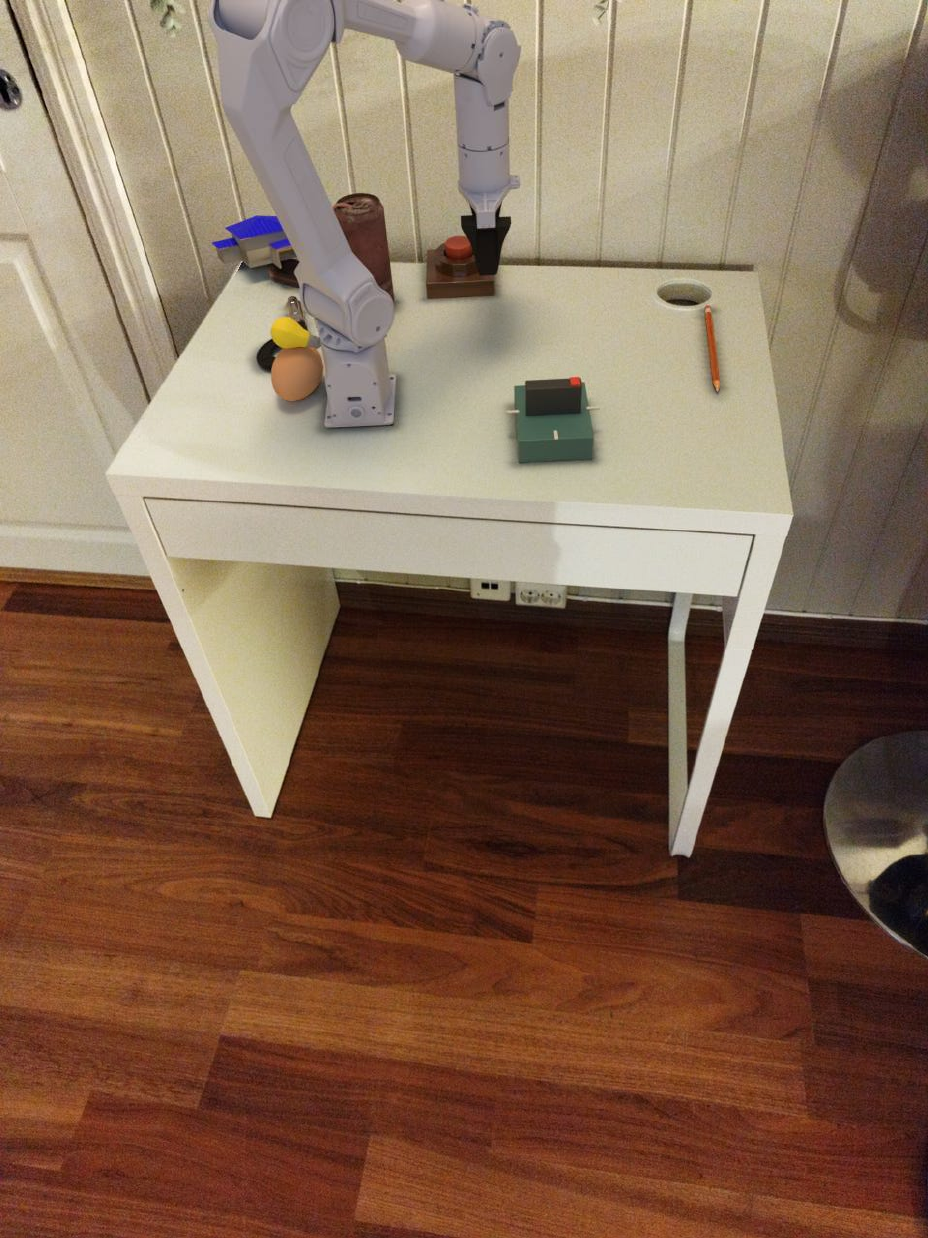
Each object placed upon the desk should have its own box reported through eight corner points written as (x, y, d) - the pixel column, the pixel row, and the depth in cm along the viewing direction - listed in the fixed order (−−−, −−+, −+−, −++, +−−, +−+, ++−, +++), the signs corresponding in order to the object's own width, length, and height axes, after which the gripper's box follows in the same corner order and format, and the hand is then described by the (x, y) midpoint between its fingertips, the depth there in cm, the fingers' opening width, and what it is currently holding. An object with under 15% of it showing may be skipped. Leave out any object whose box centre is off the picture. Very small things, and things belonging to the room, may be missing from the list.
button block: (494, 295, 125) (493, 267, 122) (427, 298, 126) (424, 270, 122) (492, 260, 131) (491, 233, 128) (428, 264, 131) (425, 236, 128)
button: (472, 260, 124) (472, 247, 123) (445, 261, 124) (444, 249, 123) (472, 246, 127) (471, 234, 125) (445, 248, 127) (444, 235, 125)
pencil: (710, 309, 120) (711, 305, 120) (720, 394, 109) (721, 389, 108) (704, 309, 120) (704, 304, 120) (713, 394, 109) (714, 389, 108)
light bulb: (271, 341, 110) (277, 310, 109) (320, 356, 111) (327, 326, 109) (264, 345, 107) (271, 314, 106) (315, 361, 108) (322, 331, 106)
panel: (602, 459, 102) (604, 436, 100) (508, 463, 103) (508, 440, 100) (592, 402, 109) (594, 379, 107) (505, 406, 109) (504, 383, 107)
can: (342, 299, 126) (325, 196, 116) (388, 289, 127) (375, 186, 117) (352, 322, 123) (336, 218, 112) (399, 312, 124) (387, 208, 113)
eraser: (280, 254, 132) (282, 265, 133) (262, 267, 129) (265, 279, 131) (346, 271, 128) (348, 283, 129) (329, 285, 126) (331, 297, 127)
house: (236, 279, 124) (225, 234, 121) (215, 258, 135) (204, 217, 132) (317, 260, 127) (308, 216, 124) (290, 241, 138) (281, 201, 135)
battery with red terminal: (525, 415, 103) (525, 387, 100) (525, 406, 104) (525, 378, 101) (580, 413, 103) (582, 384, 100) (579, 404, 104) (580, 375, 101)
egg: (313, 324, 110) (287, 368, 105) (340, 363, 114) (317, 407, 109) (276, 337, 113) (250, 381, 108) (304, 375, 117) (280, 418, 112)
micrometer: (258, 373, 115) (269, 388, 117) (308, 345, 114) (319, 362, 116) (248, 315, 125) (259, 330, 127) (295, 289, 124) (304, 305, 126)
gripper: (522, 167, 98) (523, 287, 108) (517, 111, 107) (518, 225, 118) (455, 171, 98) (462, 290, 109) (455, 114, 108) (462, 228, 118)
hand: (487, 257), depth 113 cm, fingers open, 7 cm apart
